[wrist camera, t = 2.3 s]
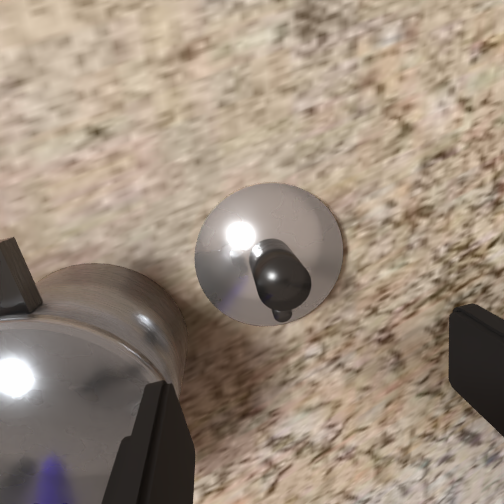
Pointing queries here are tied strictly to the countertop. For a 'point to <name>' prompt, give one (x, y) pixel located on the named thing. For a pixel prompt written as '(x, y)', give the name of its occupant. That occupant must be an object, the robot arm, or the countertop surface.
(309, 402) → the countertop surface
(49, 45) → the countertop surface
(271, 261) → the lid
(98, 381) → the pot
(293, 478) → the countertop surface
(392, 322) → the countertop surface
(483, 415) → the robot arm
